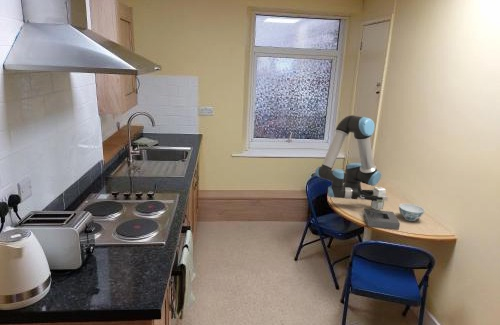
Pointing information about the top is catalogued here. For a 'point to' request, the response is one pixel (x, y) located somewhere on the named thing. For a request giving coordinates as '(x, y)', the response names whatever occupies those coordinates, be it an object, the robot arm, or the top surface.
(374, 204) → the syrup box
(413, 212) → the chinaware
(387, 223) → the collar
